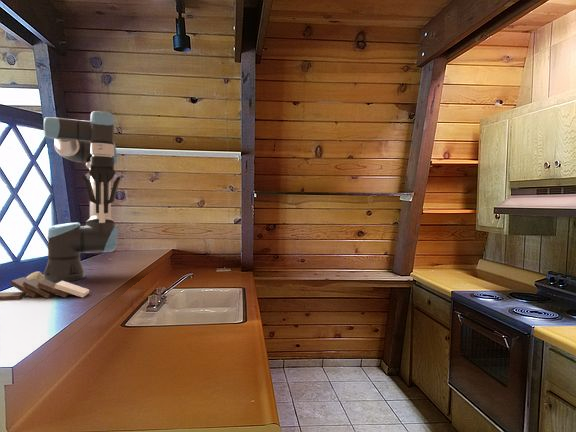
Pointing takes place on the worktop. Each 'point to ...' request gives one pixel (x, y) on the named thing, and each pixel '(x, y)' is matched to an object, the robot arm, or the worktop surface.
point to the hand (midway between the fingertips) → (102, 222)
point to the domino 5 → (71, 288)
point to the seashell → (36, 276)
